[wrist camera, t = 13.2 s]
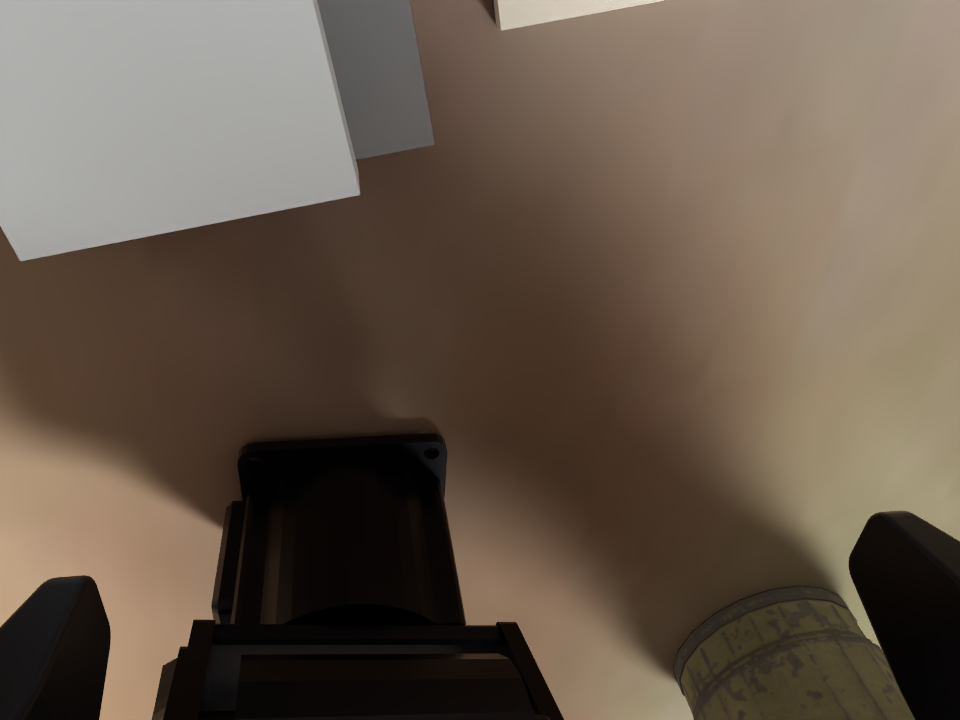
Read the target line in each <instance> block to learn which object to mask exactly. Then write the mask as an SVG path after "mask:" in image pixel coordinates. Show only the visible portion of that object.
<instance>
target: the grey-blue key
mask: <svg viewBox="0 0 960 720" xmlns="http://www.w3.org/2000/svg"><path fill="white" fill-rule="evenodd" d="M358 195H360V185H359V174H358V167H357V163H356V159H355V154H354V150H353V146H352V142H351V138H350V134H349V130H348V126H347V121H346V117H345V113H344V109H343V105H342V101H341V97H340V93H339V88H338V84H337V80H336V76H335V72H334V68H333V64H332V60H331V55H330V51H329V47H328V43H327V39H326V35H325V31H324V27H323V22H322V18H321V14H320V10H319V6H318V2H317V0H0V226H1V228H2V230H3V232H4V233H5V235H6V237H7V239H8V240H9V242H10V244H11V246H12V247H13V249H14V251H15V253H16V255H17V256H18V258H19V260H20V261H25V260H30V259H36V258H41V257H46V256H51V255H56V254H61V253H66V252H71V251H76V250H82V249H87V248H92V247H97V246H102V245H107V244H112V243H117V242H122V241H128V240H133V239H138V238H143V237H148V236H153V235H158V234H163V233H168V232H174V231H179V230H184V229H189V228H194V227H199V226H204V225H209V224H214V223H220V222H225V221H230V220H235V219H240V218H245V217H250V216H255V215H260V214H266V213H271V212H276V211H281V210H286V209H291V208H296V207H301V206H306V205H312V204H317V203H322V202H327V201H332V200H337V199H342V198H347V197H352V196H358Z"/></svg>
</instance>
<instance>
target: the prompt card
mask: <svg viewBox="0 0 960 720" xmlns="http://www.w3.org/2000/svg"><path fill="white" fill-rule="evenodd" d="M493 1H494V10H495V19H496V26H497V27H498V28H499V29H500V30H501V31H502V30H508V29H513V28H518V27H524V26H529V25H535V24H540V23H545V22H551V21H556V20H562V19H567V18H572V17H578V16H583V15H589V14H594V13H599V12H605V11H610V10H616V9H621V8H626V7H632V6H637V5H643V4H648V3H653V2H659V1H664V0H493Z"/></svg>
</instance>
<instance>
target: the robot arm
mask: <svg viewBox="0 0 960 720" xmlns="http://www.w3.org/2000/svg"><path fill="white" fill-rule="evenodd" d="M432 447H433V448H436V449H435V450H434V451H426V450H427V449H428V448H432ZM253 457H255V458H259V459H261V460H259V461H251V460H250V459H249V458H253ZM446 462H447V450H446V444H445V440H444V439H443V438H442V436H439V435H437V434H413V435H394V436H375V437H355V438H336V439H317V440H298V441H279V442H260V443H250V444H247V445H245V446H243V447H242V448H241V450H240V451H239V457H238V464H237V465H238V472H239V479H240V485H241V492H242V499H243V501H233V502H232V503H231V504H230V505H229V506H228V507H227V508H226V514H225V521H224V527H223V534H222V540H221V547H220V553H219V560H218V566H217V573H216V579H215V586H214V592H213V599H212V613H213V618H214V620H194V621H193V625H192V630H191V634H190V639H189V643H188V647H180V649H179V654H178V658H176V659H174V660H173V661H171V662H169V663H167V664H166V665H164V666H163V668H162V673H161V678H160V683H159V688H158V693H157V698H156V703H155V707H154V712H153V717H152V720H564V719H563V717H562V715H561V713H560V711H559V708H558V706H557V704H556V702H555V700H554V698H553V696H552V694H551V692H550V690H549V688H548V686H547V684H546V682H545V680H544V678H543V676H542V674H541V672H540V670H539V668H538V666H537V663H536V661H535V659H534V657H533V655H532V653H531V651H530V649H529V647H528V645H527V643H526V641H525V639H524V637H523V635H522V633H521V631H520V629H519V627H518V625H517V623H516V622H497V623H496V625H466V620H465V615H464V609H463V603H462V598H461V592H460V586H459V581H458V575H457V569H456V564H455V558H454V552H453V547H452V541H451V535H450V530H449V524H448V518H447V513H446V507H445V501H444V495H445V478H446ZM849 571H850V575H851V578H852V580H853V583H854V585H855V587H856V590H857V592H858V594H859V597H860V599H861V601H862V604H863V606H864V609H865V611H866V613H867V616H868V618H869V620H870V623H871V625H872V627H873V630H874V632H875V634H876V637H877V639H878V642H879V644H880V646H881V649H882V651H883V653H884V656H885V658H886V660H887V663H888V665H889V667H890V670H891V672H892V674H893V677H894V679H895V681H896V683H897V685H898V687H899V690H900V692H901V694H902V696H903V698H904V700H905V702H906V704H907V706H908V708H909V710H910V711H911V713H912V715H913V717H914V719H915V720H960V541H958V540H956V539H955V538H953V537H951V536H950V535H948V534H946V533H945V532H943V531H941V530H940V529H938V528H936V527H934V526H933V525H931V524H929V523H928V522H926V521H924V520H923V519H921V518H919V517H918V516H916V515H914V514H912V513H910V512H907V511H890V512H879V513H875V514H874V515H872V516H871V517H870V518H869V520H868V521H867V523H866V525H865V527H864V529H863V531H862V533H861V535H860V537H859V539H858V541H857V542H856V544H855V546H854V548H853V550H852V552H851V554H850V557H849ZM110 638H111V636H110V625H109V621H108V618H107V615H106V612H105V609H104V606H103V603H102V600H101V597H100V594H99V591H98V588H97V585H96V583H95V581H94V580H93V579H92V578H91V577H90V576H85V575H83V576H70V577H58V578H52V579H49V580H47V581H46V582H44V583H43V584H42V585H40V586H39V587H38V588H37V590H36V591H35V592H34V593H33V594H32V595H31V596H30V597H29V598H28V599H27V600H26V601H25V602H24V603H23V604H22V605H21V606H20V607H19V608H18V609H17V610H16V611H15V612H14V614H13V615H12V616H11V617H10V618H9V619H8V620H7V621H6V622H5V623H4V624H3V625H2V626H1V627H0V720H99V717H100V710H101V703H102V697H103V690H104V683H105V677H106V670H107V663H108V657H109V650H110Z"/></svg>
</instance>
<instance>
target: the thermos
mask: <svg viewBox="0 0 960 720" xmlns="http://www.w3.org/2000/svg"><path fill="white" fill-rule="evenodd" d="M674 671H675V675H676V678H677V682H678V685H679V687H680V689H681V692H682V694H683V695H684V696H685V697H686V700H687V702H688V704H689V707H690V709H691V712H692V714H693V717H694V720H915V719H914V717H913V715H912V713H911V711H910V710H909V708H908V706H907V704H906V702H905V700H904V698H903V696H902V694H901V692H900V690H899V687H898V685H897V683H896V681H895V679H894V677H893V674H892V672H891V670H890V667H889V665H888V663H887V660H886V658H885V656H884V653H883V652H882V650H881V649H880V647H879V646H878V645H876V644H874V643H872V642H871V640H870V639H867V638H866V637H865V635H864V634H863V632H862V631H861V629H860V628H859V626H858V625H857V620H856V619H855V617H854V616H853V614H852V613H851V611H850V610H849V609H848V607H847V606H846V604H845V603H844V601H843V600H842V598H841V597H840V596H838V595H836V594H833V593H831V592H829V591H827V590H825V589H822V588H812V587H802V586H796V587H789V588H782V589H774V590H769V591H766V592H763V593H760V594H757V595H754V596H751V597H748V598H745V599H742V600H740V601H738V602H736V603H734V604H732V605H731V606H729V607H727V608H725V609H723V610H721V611H719V612H718V613H716V614H714V615H713V616H711V617H710V618H709V619H708V620H707V621H705V622H704V623H703V624H702V625H701V626H699V627H698V628H697V629H696V630H694V631H693V632H692V633H691V635H690V636H689V637H688V639H687V640H686V641H685V643H684V644H683V646H682V647H681V648H680V650H679V651H678V655H677V658H676V662H675V666H674Z"/></svg>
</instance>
